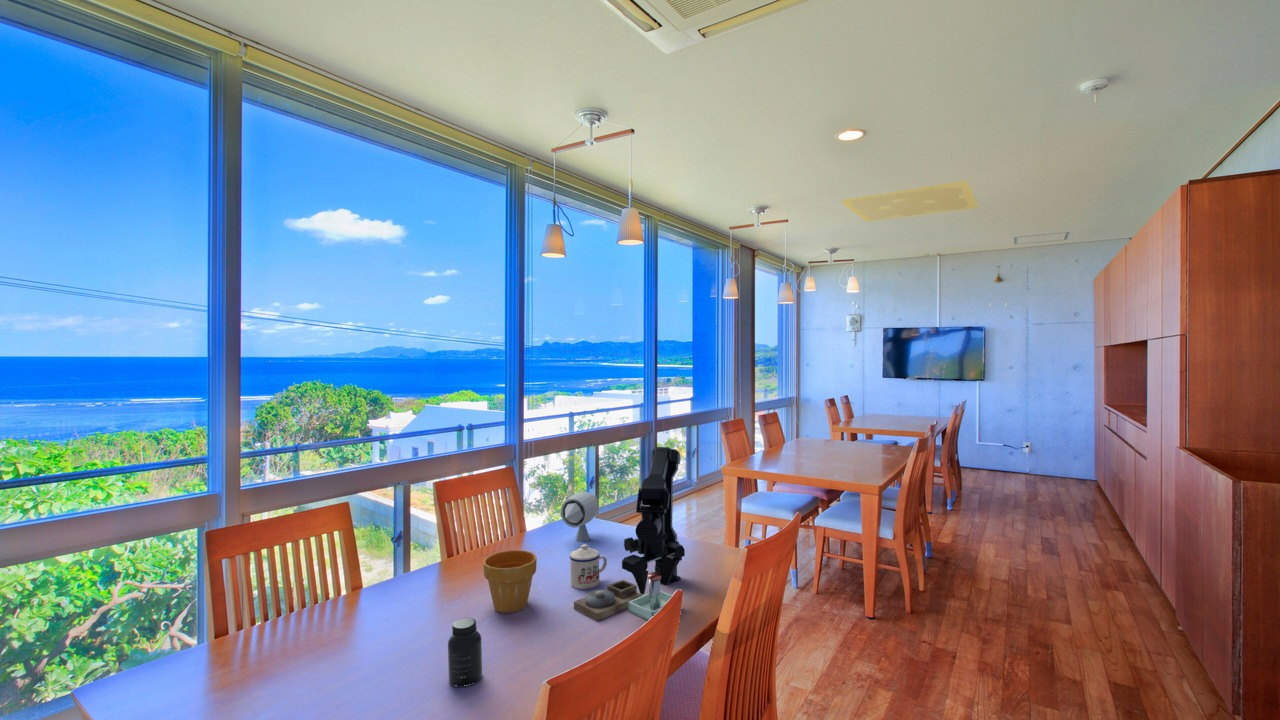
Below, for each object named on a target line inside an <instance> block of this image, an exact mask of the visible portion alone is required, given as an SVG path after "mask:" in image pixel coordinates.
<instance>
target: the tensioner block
mask: <svg viewBox="0 0 1280 720" xmlns="http://www.w3.org/2000/svg"><path fill="white" fill-rule="evenodd" d="M637 588H638V586H637V584H634V583H632V582H630V581H627V580H624V579H621V580H618V581H616V582H613V583H610V584H608V585H607V587H606V589H596V590H592V591H588V592H587V593H586V594H585V596H584V597H582V598H580V599H577V600H575V601H573V610H574V611H576V612H579V613H581V614H583V615H585V616H586V617H588V618H591V619H592V620H594V621H596V622H599V621H602V620H604V619H606V618H608V617H611V616H613V615H616V614H617V613H620V612H622V611H625V610H628V602H629V601H631V600H634V599H636V598H638V597H641V596H643V595H642V594H641V593H640V592H637V590H638V589H637Z"/></svg>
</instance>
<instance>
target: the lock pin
mask: <svg viewBox="0 0 1280 720" xmlns="http://www.w3.org/2000/svg"><path fill="white" fill-rule="evenodd" d="M660 579H661V573H658V572H655V571H652V572H648V577H647V580H648V584H649V585H648V591H649V592H648V593H649V608H650V609H651V610H656V609H659V608H661V594H660V591H661V582H660Z"/></svg>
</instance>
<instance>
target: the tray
mask: <svg viewBox="0 0 1280 720" xmlns="http://www.w3.org/2000/svg"><path fill="white" fill-rule="evenodd" d="M660 594H661V608H662V607H663V606H664V604H665V603H666V602H667V601H668V600H669V599H670V598H671V597H672V596H673V595H672V594H670V593H667V592H665V591H662V590H660ZM661 608H659V609H656V610H651V609H650V608H649V592H648V593H646V594H645V593H644V594H643V595H642V596H641V597H638V598H636V599H634V600H631V601H629V602H628V608H627V612H629V613H631V614H633V615H635V616H637V617H639V618H642V619H643V620H646V621H647V620H649V619H650V618H651V617H652V616H654V614H656V613H657V612H658V611H659V610H660V609H661Z"/></svg>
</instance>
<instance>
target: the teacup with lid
mask: <svg viewBox="0 0 1280 720" xmlns="http://www.w3.org/2000/svg"><path fill="white" fill-rule="evenodd" d="M580 546H581V547H579V548H578V549H574V550H573V551H571V552H570V554H569V560H570V565H569V566H570V568H569V569H570V586H571V587H573V588H575V589H578V590H587V589H588V590H590V589H593V588H596V587H597V586H599V584H600V573H602V572H603V571H605V569H607V568H606V567H607V565H608V560H607V557H606V556H605V555H602V554H600V552H599V551H598V550H597V549H595V548H592V547H589V545H588V544H585V543H584V544H582V545H580ZM600 559H603V564H602V566H601V567H600Z"/></svg>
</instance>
